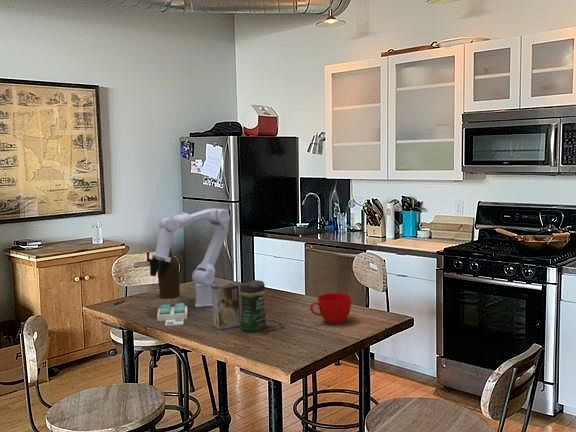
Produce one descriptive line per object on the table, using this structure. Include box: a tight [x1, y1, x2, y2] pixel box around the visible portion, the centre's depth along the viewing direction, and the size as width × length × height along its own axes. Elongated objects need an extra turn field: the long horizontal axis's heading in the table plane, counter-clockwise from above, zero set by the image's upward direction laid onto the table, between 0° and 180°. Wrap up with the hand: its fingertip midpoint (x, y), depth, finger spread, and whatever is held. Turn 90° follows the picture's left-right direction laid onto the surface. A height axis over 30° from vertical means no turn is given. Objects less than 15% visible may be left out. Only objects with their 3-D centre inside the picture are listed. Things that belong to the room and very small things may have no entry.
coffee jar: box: [239, 279, 267, 333], centre depth 226 cm, size 10×8×19 cm
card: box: [164, 319, 184, 327], centre depth 239 cm, size 7×7×1 cm
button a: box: [174, 302, 185, 307], centre depth 251 cm, size 4×4×2 cm
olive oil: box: [157, 246, 181, 300], centre depth 283 cm, size 11×11×25 cm
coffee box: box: [211, 282, 241, 330], centre depth 231 cm, size 9×6×16 cm
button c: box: [160, 303, 171, 310], centre depth 250 cm, size 4×4×2 cm
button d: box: [160, 307, 170, 315], centre depth 245 cm, size 4×4×2 cm
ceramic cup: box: [309, 292, 352, 325], centre depth 231 cm, size 13×17×10 cm
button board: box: [156, 305, 188, 322], centre depth 248 cm, size 12×12×2 cm
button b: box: [174, 306, 184, 314], centre depth 245 cm, size 4×4×2 cm
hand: (156, 277), depth 250 cm, fingers open, 7 cm apart
